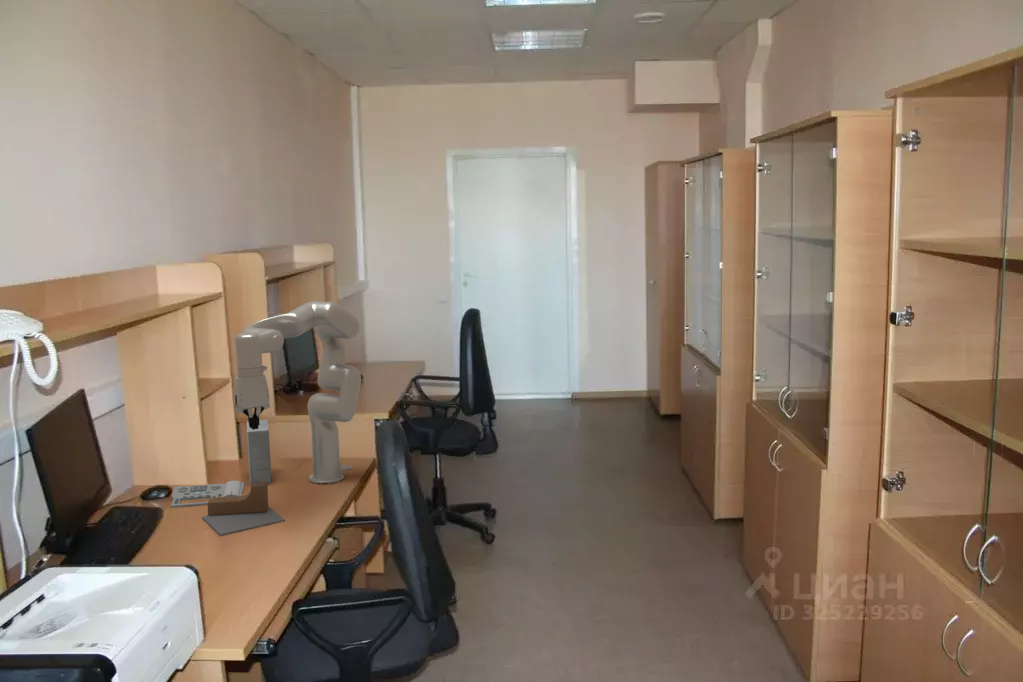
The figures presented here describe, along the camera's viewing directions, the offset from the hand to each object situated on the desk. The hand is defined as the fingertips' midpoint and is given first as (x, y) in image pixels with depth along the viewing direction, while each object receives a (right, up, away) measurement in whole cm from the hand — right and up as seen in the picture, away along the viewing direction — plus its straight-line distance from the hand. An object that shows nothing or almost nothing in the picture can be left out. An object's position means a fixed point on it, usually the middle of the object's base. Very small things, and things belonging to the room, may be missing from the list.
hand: (254, 428), depth 259 cm
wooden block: (+3, -22, +3) cm, 23 cm away
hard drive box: (-10, -22, +38) cm, 45 cm away
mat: (-3, -28, -3) cm, 29 cm away
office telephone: (-22, -26, +20) cm, 39 cm away
